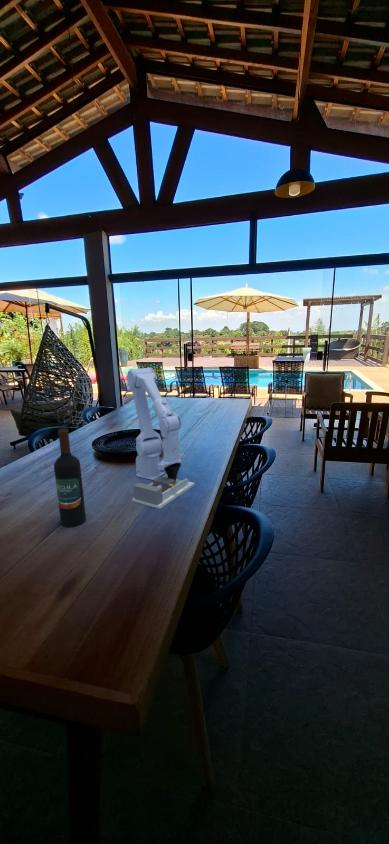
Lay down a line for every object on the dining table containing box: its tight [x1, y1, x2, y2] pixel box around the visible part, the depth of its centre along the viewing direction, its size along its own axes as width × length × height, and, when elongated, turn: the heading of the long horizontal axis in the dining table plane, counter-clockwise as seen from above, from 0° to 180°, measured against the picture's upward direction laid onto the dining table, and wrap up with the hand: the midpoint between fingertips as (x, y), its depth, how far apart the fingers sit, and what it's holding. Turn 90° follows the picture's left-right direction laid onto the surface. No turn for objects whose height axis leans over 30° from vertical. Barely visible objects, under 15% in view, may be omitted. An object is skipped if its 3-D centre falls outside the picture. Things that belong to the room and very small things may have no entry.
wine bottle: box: [53, 428, 87, 528], centre depth 112 cm, size 8×8×30 cm
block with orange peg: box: [152, 475, 175, 492], centre depth 132 cm, size 9×7×4 cm
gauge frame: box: [131, 474, 195, 509], centre depth 134 cm, size 12×22×6 cm, turn 148°
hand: (172, 481), depth 138 cm, fingers closed
